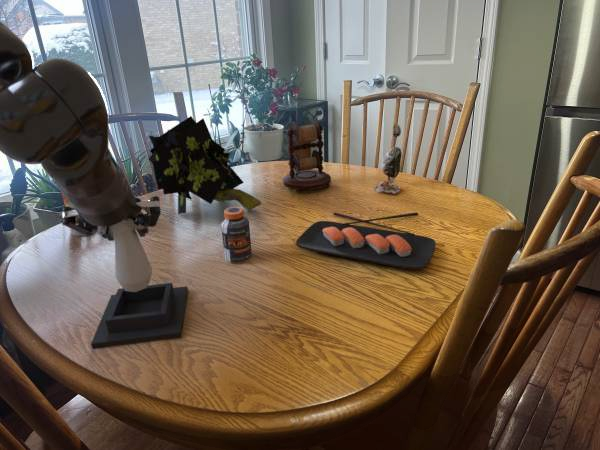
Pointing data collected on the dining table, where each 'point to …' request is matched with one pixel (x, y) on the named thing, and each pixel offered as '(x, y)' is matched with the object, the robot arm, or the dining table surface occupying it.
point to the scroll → (305, 158)
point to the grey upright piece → (391, 166)
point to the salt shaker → (130, 259)
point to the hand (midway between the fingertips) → (127, 232)
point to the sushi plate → (369, 242)
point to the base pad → (142, 316)
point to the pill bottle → (236, 236)
